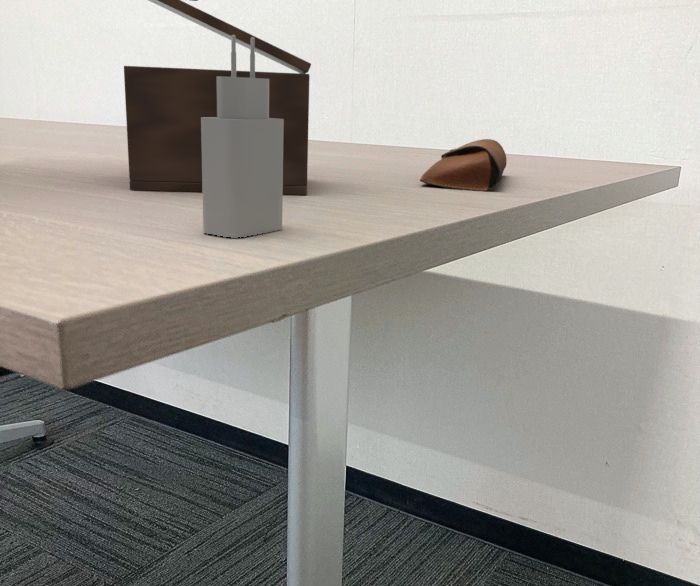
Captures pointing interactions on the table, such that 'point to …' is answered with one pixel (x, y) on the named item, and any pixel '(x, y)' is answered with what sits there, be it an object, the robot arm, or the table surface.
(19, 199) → the table surface
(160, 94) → the chest
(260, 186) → the power adapter
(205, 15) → the lid
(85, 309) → the table surface
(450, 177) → the sunglasses case
